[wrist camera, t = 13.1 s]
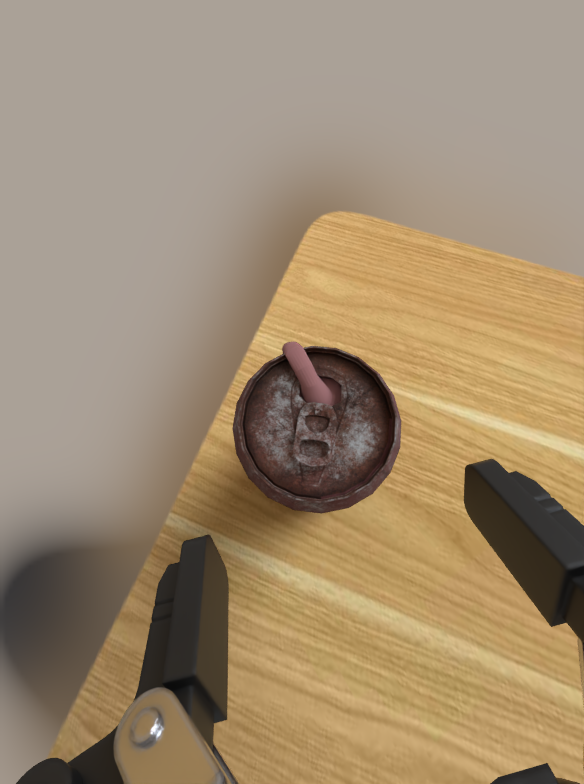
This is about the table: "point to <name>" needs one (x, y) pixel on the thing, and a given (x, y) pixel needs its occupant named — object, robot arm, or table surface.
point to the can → (317, 429)
